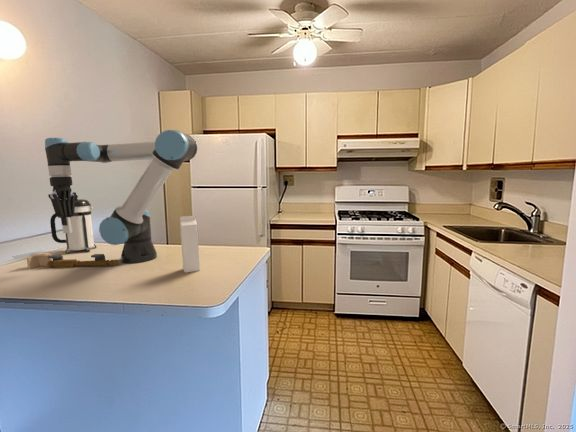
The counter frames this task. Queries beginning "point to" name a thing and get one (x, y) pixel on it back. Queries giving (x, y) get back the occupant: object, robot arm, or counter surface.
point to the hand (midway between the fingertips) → (67, 232)
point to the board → (44, 258)
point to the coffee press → (77, 228)
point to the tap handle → (80, 263)
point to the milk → (189, 243)
